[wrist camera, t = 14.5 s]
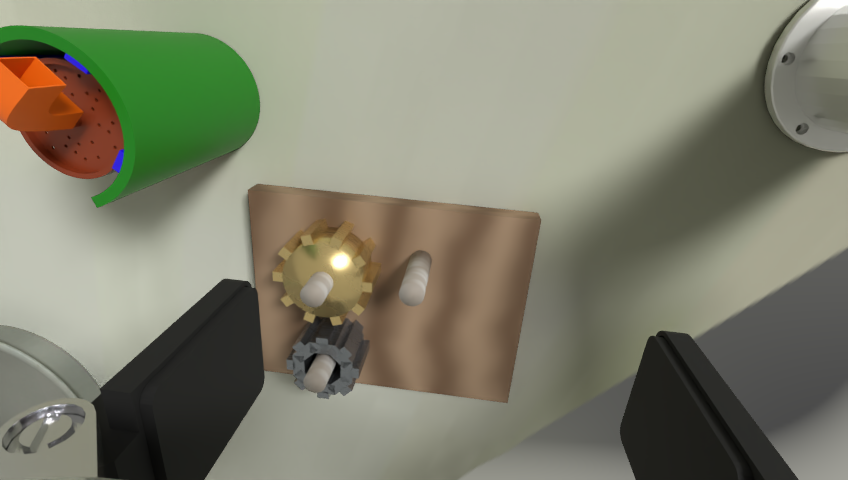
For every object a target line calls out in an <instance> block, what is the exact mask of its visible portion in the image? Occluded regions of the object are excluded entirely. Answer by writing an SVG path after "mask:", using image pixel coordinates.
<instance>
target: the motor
mask: <svg viewBox="0 0 848 480" xmlns="http://www.w3.org/2000/svg"><path fill="white" fill-rule="evenodd" d="M259 113H260V100H259V93H258V89H257V85H256V82H255V80H254V77H253V75H252V73H251V71H250V70H249V68H248V66H247V65H246V63H245V62H244V61H243V59H242V58H241V57H240V56H239V55H238V54H237V53H236V52H235V51H234V50H233V49H232V48H230V47H229V46H228V45H226V44H225V43H223V42H222V41H220V40H218V39H216V38H214V37H211V36H208V35H204V34H198V33H178V32H156V31H133V30H110V29H87V28H65V27H42V26H17V25H16V26H6V27H2V28H0V120H1V121H2V122H4V123H5V124H6V125H7V126H8V127H9V128H11V129H13V130H18V131H20V132H21V134H22V135H23V137H24V139H25V140H26V142H27V143H28V145H29V146H30V147H31V148H32V150H33V151H34V152H35V153H36V154H37V155H38V156H39V157H40V158H41V159H42V160H43V161H45V162H46V163H47V164H48V165H50V166H51V167H53V168H54V169H56V170H58V171H60V172H62V173H64V174H66V175H69V176H72V177H76V178H82V179H93V178H98V177H101V176H104V175H107V174H110V173H112V172H114V171H117V172H118V173H119V174H118V176H117V178H116V179H115V181H114V182H113V184H112V185H111V186H110V187H109V188H108V189H106V190H105V191H104V192H102V193H101V194H99V195H96V196H94V197H91V198H92V200H93V202H94V203H95V205H96V207H97V208H98V207H101V206H103V205H105V204H108V203H110V202H113V201H115V200H117V199H120V198H122V197H125V196H127V195H129V194H132V193H134V192H136V191H139V190H141V189H144V188H146V187H148V186H151V185H153V184H155V183H158V182H160V181H163V180H165V179H167V178H170V177H172V176H174V175H177V174H179V173H182V172H184V171H186V170H189V169H191V168H193V167H196V166H198V165H201V164H203V163H205V162H208V161H210V160H212V159H215V158H217V157H220V156H222V155H224V154H227V153H229V152H231V151H234V150H236V149H238V148H239V147H241V146H242V145H244V144H245V143H246V142H247V141H248V140H249V138H250V137H251V136H252V134H253V132H254V130H255V128H256V126H257V123H258V119H259ZM47 132H48V133H47ZM53 146H54V147H55V149H54V148H53Z"/></svg>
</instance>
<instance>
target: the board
mask: <svg viewBox="0 0 848 480" xmlns="http://www.w3.org/2000/svg"><path fill="white" fill-rule="evenodd" d="M248 198H249V210H250V222H251V235H252V247H253V259H254V271H255V284H256V289H257V292H258V301H259V313H260V326H261V338H262V351H263V363H264V370H265V371H272V372H280V373H287V374H293V370H289V369H287V362H286V359H287V358H288V356H289V355H290V353H291V351H292V350H293V348H292V347H293V345H294V343H295V342H296V340H297V339H298V337H299V336H300V334H301V332H302V331H303V329H304V328H305V326H306V324H307V323H308V321H306V320H304V316H305V313H306V311H304V310H302V309H301V308H299V307H298V306H297V305H296V304H295V303H293V304H291V305H289V306H287V307H286V306H285V304H284V303H283V302H282V301H281V298H282V296H283V295H284V294H285V293H286V290H285V288H284V285H283V282H278V281H273V273H272V272H273V270H274V269H275V268H276V267H277V266H278V265H279V264H280V263H281V262H282V261H283V260H284V258H282V257H281V256H280V255H278V253H279V252H280V250H281V249H282V248H283V247H284V246H285V245H286V244H287V243H288V242H289V241H290V240H291V239H292V238H293V237H294V236H295V235H296V234H297V233H298V232H299V231H300V230H302V231H303V232H305V231H306V230H307V229H308V228H309V227H310V226H311V225H312V224H313V223H314V222H315V221H316V220H320V219H326V222H327V225H328V227H336V228H340V226H341V225H342V224H343V223H344V221H348V222H350V223H352V224H354V227H353V230H352V233H353V234H354V235H356V236H357V237H358V238H359V239H360V240H362V242H363V241H365V240H366V239H368V238H370V237H371V239H372V240H373V242H374V243H375V245H376V246H375V248H374V250H373V252H372V254H371V259H372V262H376V263H381V273H380V275H379V277H378V280H377V282H376V284H375V287H374V290H373V292H372V294H371V296H370V299H369V301H368V303H367V306H366V308H365V310H364V311H363V312H362V313H361V314H360V315H359V316H358V315H357V314H356V313H354V312H353V311H352V310H350V311H348V313H347V315H346V317H345V318H348V319H349V320H350V321H351V322H354V321H355V320H357V321H358V322H359V323H360V324H361V325H362V326H363V327H364V328H363V331H362V333H363V334H364V340H370V344H369V352H368V354H367V357H366V360H365V363H364V365H363V368H362V371H361V374H360V376H359V379H357V378H356V381H355V383H362V384H370V385H377V386H385V387H392V388H400V389H407V390H415V391H422V392H430V393H437V394H444V395H452V396H459V397H467V398H474V399H482V400H489V401H497V402H504V403H507V402H508V397H509V391H510V386H511V381H512V375H513V370H514V364H515V359H516V353H517V348H518V343H519V337H520V332H521V326H522V321H523V316H524V310H525V305H526V299H527V294H528V288H529V283H530V278H531V272H532V267H533V261H534V256H535V251H536V245H537V240H538V234H539V229H540V224H541V219H540V216H539V214H538V213H534V212H524V211H515V210H505V209H495V208H486V207H476V206H466V205H457V204H447V203H437V202H427V201H418V200H408V199H398V198H389V197H379V196H369V195H360V194H350V193H340V192H331V191H321V190H311V189H302V188H292V187H282V186H272V185H263V184H257V185H255V186H254V187H252V188H250V189H249V190H248ZM332 287H333V279H332V278H331V276H330V275H329V274H327V273H325V272H316V273H314V274H313V275H312V276H311V278H310V279H309V280H308V282H307V283H306V284H305V286H304V287H303V288H302V290H301V292H300V298H301V300H302V302H303V303H304V304H306V305H307V306H309V307H318V306H320V305H322V303H323V302H324V300H325V299H326V297H327V295H328V294H329V292H330V291H331V289H332ZM318 317H319V318H320V319H321V318H322V317H320V316H318ZM336 363H337V361H336V360H334V359H333V358H332V357H331V356H330V355H326V354H317V355H316V357H315V359H314V361H313V363H312V365H311V367H310V369H309V371H308V372H307V374H306V376H305V378H304V381H303V383H304V386H305V387H306V389H308V390H309V391H311V392H314V393H319V392H322V391H323V390H324V389H325V387H326V385H327V382H328V380H329V378H330V376H331V374H332V371H333V369H334V367H335V365H336Z"/></svg>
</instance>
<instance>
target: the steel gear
mask: <svg viewBox="0 0 848 480" xmlns="http://www.w3.org/2000/svg"><path fill="white" fill-rule="evenodd" d="M363 328H364V327H363V326H362V325H361V324H360V323H359V322H358V321H357V320H355V321H354V322H351V321H350V320H349V319H348V318H345V319H344V321H343V323H342V324H340V325H334V326H333V325H332V322H331V320H330V317H322V318H321V319H320V318H319V317H318V316H317V317H316V318H315V320H314V322H313V323H311V322H309V321H308V323H307V324H306V326H305V328H304V329H303V331H302V332H301V334H300V336H299V337H298V339H297V340H296V342H295V343H294V345H293V347H292V348H293V350H292V351H291V353H290V355H289V356H288V358H287V359H286V362H287V369H289V370H293V375H294V376H295V377H296V380H295V382H294V383H295V384H296V385H297V386H298V387H299V388H300V389H301V390H303V389H305V388H306V387H305V386H304V383H303V381H304V378H305V376H306V374H307V372H308V371H309V369H310V367H311V365H312V363H313V361H314V359H315V357H316V355H317V354H326V355H330V356H331V357H332V358H333V359H334V360H336V361H337V363H336V365H335V367H334V369H333V371H332V374H331V376H330V378H329V380H328V382H327V385H326V387H325V389H324V390H323V391H322V392H319V393H317V397H318V398H326V399H329V397H330V395H331V394H333V395H335V394H337V393H338V392H340V393H341V394H342V395H343V396H344V395H346V394H347V393H349V392H350V391H352V389H353V386H354V384H355V381H356V378H357V379H359V376H360V374H361V371H362V368H363V365H364V363H365V360H366V357H367V354H368V352H369V344H370V340H364V334H363V333H362V331H363Z"/></svg>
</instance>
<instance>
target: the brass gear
mask: <svg viewBox="0 0 848 480" xmlns="http://www.w3.org/2000/svg"><path fill="white" fill-rule="evenodd" d="M353 227H354V224H352V223H350V222H348V221H344V223H343V224H342V225H341V226H340V228H336V227H328V225H327V222H326V219H320V220H316V221H315V222H314V223H313V224H312V225H311V226H310V227H309V228H308V229H307V230H306V231H305V232H303V231H302V230H300V231H299V232H298V233H297V234H296V235H295V236H294V237H293V238H292V239H291V240H290V241H289V242H288V243H287V244H286V245H285V246H284V247H283V248H282V249H281V250H280V252H279V253H278V255H280V256H281V257H282V258H284V260H283V261H282V262H281V263H280V264H279V265H278V266H277V267H276V268H275V269H274V270H273V272H272V273H273V281H278V282H283V285H284V288H285V290H286V293H285V294H284V295H283V296H282V298H281V301H282V302H283V303H284V304H285V306H286V307H287V306H289V305H291V304H293V303H295V304H296V305H297V306H298V307H299V308H301V309H302V310H304V311H306V313H305V316H304V320H306V321H309V322H311V323H313V322H314V320H315V318H316V317H317V316H320V317H330V320H331V322H332V325H333V326H334V325H340V324H342V323H343V321H344V319H345V317H346V315H347V313H348V311H350V310H352V311H353V312H354V313H356V314H357V315H358V316H359V315H360V314H361V313H362V312H363V311H364V310H365V308H366V306H367V303H368V301H369V299H370V296H371V294H372V292H373V290H374V287H375V284H376V282H377V280H378V277H379V275H380V273H381V263H376V262H372V259H371V254H372V252H373V250H374V248H375V246H376V245H375V243H374V242H373V240H372V239H371V237H370V238H368V239H366V240H365V241H363V242H362V240H360V239H359V238H358V237H357V236H356V235H354V234H353V233H352V230H353ZM316 272H325V273H327V274H329V275H330V276H331V278H332V279H333V287H332V289H331V291H330V292H329V294H328V295H327V297H326V299H325V300H324V302H323V303H322V305H320V306H318V307H309V306H307V305H306V304H304V303H303V302H302V300H301V298H300V292H301V290H302V288H303V287H304V286H305V284H306V283H307V282H308V280H309V279H310V278H311V276H312V275H313V274H314V273H316Z"/></svg>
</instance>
